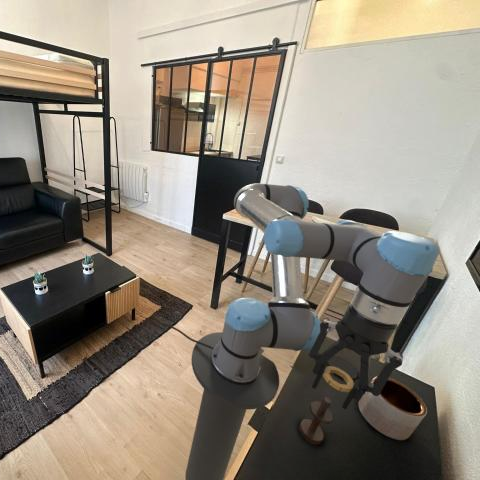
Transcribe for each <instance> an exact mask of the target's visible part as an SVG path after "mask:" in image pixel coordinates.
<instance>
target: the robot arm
mask: <svg viewBox="0 0 480 480" xmlns="http://www.w3.org/2000/svg"><path fill="white" fill-rule="evenodd" d="M309 206H310V205H309V197H308V194H307V193H306V191H305V190H304V189H303V188H301V187H299V186H293V185H289V184H288V185H279V184H271V183H270V184H269V183H262V182H261V183H260V182H259V183H258V182H257V183H250V184H248V185H245V186H243V187H242V188H240V189H239V190H238V191H237V192H236V194H235V196H234V199H233V207H234V209H235V211H236V212H237V213H238V215H240V216H241V217H242V218H244V219H248V220H250V222H252V224H254V225H255V226H256V227H257V228H258V229H259V230H260V231H261V232H262V233H263V244H264V245H265V250H266V251H267V252H268V253H269V254H270V265H271V266H270V268H271V269H270V270H271V285H272V286H271V287H272V297H271V299H270V300H269V301H268V302H267V304H266V303H265V302H263V301H262V300H257V299H256V298H252V297H240V298H237V299H234V300H233V301H232V302H230V304H229V305H228V308H227V311H226V313H225V316H224V324H223V328H222V331H221V332H222V337H221V339H220V340H219V342H218V343H217V344H216V346H215V347H211V346H209V345H206V344H204V343H202V342H199V340H196V339H194V338H191V337H190V336H188V335H187V334H186V333H184V332H183V331H182V330H180V329H178V328H177V327H175V326H172V325H170V324H169V323H167V322H164V323H163V325H164V326H166V327H169V328H170V329H173V330H175V331H177V332H178V333H180V334H181V335H182V336H183V337H185V338H187V339H188V340H189V341H191V342H193V343H195V344H196V343H198V344H201V345H204V346H206V347H208V348H211V349H213V351H212V355H211V362H212V365H213V367H214V369H215V371H216V372H217V373H218V374H219V375H220V376H221V377H222V378H224V379H225V380H227V381H229V382H231V383H234V384H240V385H245V384H250V383H252V382H253V381H255V379H256V378H257V376H258V374H259V371H260V369H261V365H260V366H259V357H258V352H259V349H260V347H261V348H267V349H279V350H288V351H289V350H290V351H295V352H299V351H303V352H304V351H309V353H308V357H309V358H310V359H313V360H314V361H315V364H314V366H313V368H312V373H313V374H314V375H316V376H315V379H314V381H313V383H312V385H311V389H314V390H316V388H317V387H318V384H319V383H320V381H321V379H322V377H323V372H324V370H325V368H326V367H327V366H328V360H329V359H331V358H332V357H335V355H337V354H339V352H341V351H343V350H344V349H345V348H346V350H350V351H353V352H354V353H355V354H357V355H359V356H360V359H359V360H360V365H359V367H360V369H359V380H358V379H357V378H356V379H355V380H354V385H353V388H352V390H351V392H347V395H346V396H345V398H344V400H343V403H342V405H341V408H342V409H343V410H346V411H347V408H348V407H349V406H350V404H351V402H352V400H353V399H354V400H356V401H357V402H359V400H361V398H362V396H363V395H364V394H365V393H366V392H371V393H372V394H373V395H374V396H379V394H380V393H381V391H382V389H383V387H384V385H385V384H386V382H387V380H388V378H391V375H392V373H393V371H394V370H396V369H398V368H400V367H401V366H402V365H403V361H404V355H403V354H402V353H401V352H395V351H394V350H392V349H391V348H390V346H389V345H390V344H389V341H390V339H391V338H392V336H393V334H394V333H395V331H396V330H397V328H398V324H400V323H401V321H402V319H403V317H404V316H405V314H406V312H407V311H408V309H409V307H410V306H411V304H412V302H413V299H414V298H415V296H416V295H417V293H418V291H419V290H420V288H421V287H422V286H423V285H424V282H425V281H426V280H427V278H428V277H429V275H431V274H432V272H433V268H434V266H435V263H436V262H437V260H438V257H439V256H440V252H441V250H440V247H439V246H438V244H437V243H436V242H434V241H432V240H430V239H428V238H426V237H423V236H418V235H416V234H413V233H409V232H404V231H398V230H394V231H393V230H390V231H385V232H384V233H382V234H381V233H379V232H377V231H375V230H374V229H372V228H370V227H368V226H366V225H364V224H363V223H360V222H357V221H354V220H351V219H342V220H339V221H336V222H334V223H325V222H315V221H306V220H303V219H304V218H305V217H306V215H307V214H308V209H309ZM301 258H305V259H319V260H329V261H339V262H340V261H341V262H347V263H349V264H351V265H352V266H354V267H355V268H356V269H358V270H359V271H361V272H362V273H363V274H362V276H361V278H360V280H359V282H358V284H357V286H356V289H355V290H354V293H353V295H352V297H351V299H350V303H349V304H348V305H347V307H346V309H345V312H344V314H343V316H342V318H341V319H340V320H338V321H337V322H336V321H332V320H330V319H329V318H328V317H324V318H322V320H320V318H319V315H318V314H317V313H316V312H314V311H312V310H311V306H310V303H309V302H308V301H306V299H305V298H304V292H303V291H304V290H303V279H302V268H301ZM333 330H335V331H336V333H337V336H338V339H337V340H336V341H334V343H332V344H331V345H330V346H329V347H328V348H326V349H325V351H323V352H322V353H320V352H319V351H320V350H321V347H322V345H323V343H324V342H325V340H326V338H327V335H328V334H329V332H330V333H331V332H332V331H333ZM380 354H384V358H383V359H384V363H383V365H382V367H380V371H379V372H378V374H377V376H376V377H377V378H376V380H375V381H374V383H371V381H370V373H371V372H370V371H371V359H372V356H375V355H380Z"/></svg>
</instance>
